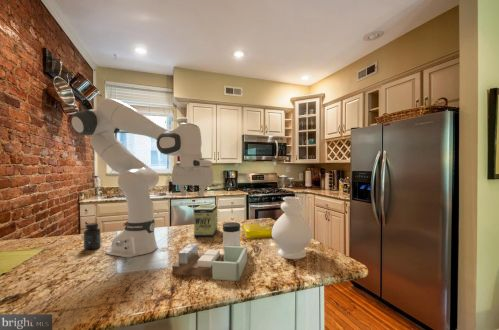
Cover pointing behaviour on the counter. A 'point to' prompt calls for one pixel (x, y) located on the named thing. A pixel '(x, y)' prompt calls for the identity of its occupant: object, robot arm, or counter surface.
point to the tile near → (206, 261)
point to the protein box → (205, 221)
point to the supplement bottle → (92, 237)
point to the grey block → (188, 254)
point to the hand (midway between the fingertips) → (192, 196)
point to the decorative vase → (291, 230)
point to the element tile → (257, 230)
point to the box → (230, 264)
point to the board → (194, 267)
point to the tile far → (213, 253)
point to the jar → (231, 234)
